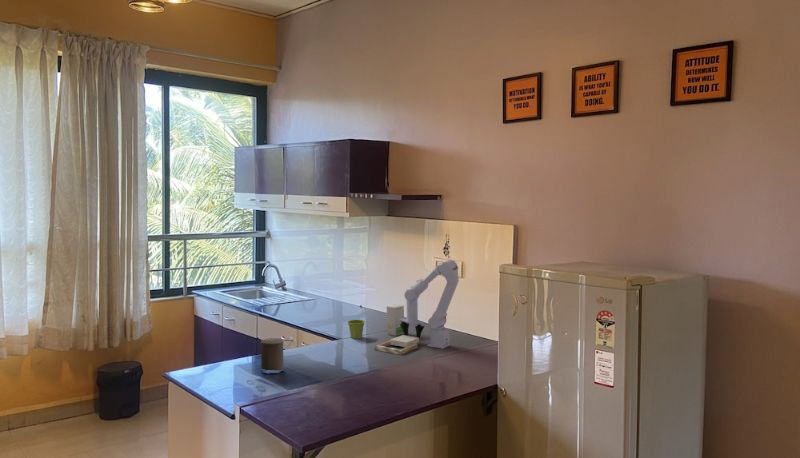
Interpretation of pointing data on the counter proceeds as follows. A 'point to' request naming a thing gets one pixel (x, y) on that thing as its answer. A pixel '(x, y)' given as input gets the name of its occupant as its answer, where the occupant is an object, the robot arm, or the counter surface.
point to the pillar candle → (272, 354)
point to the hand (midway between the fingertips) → (412, 337)
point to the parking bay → (396, 351)
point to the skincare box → (394, 319)
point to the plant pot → (356, 328)
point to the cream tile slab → (404, 341)
